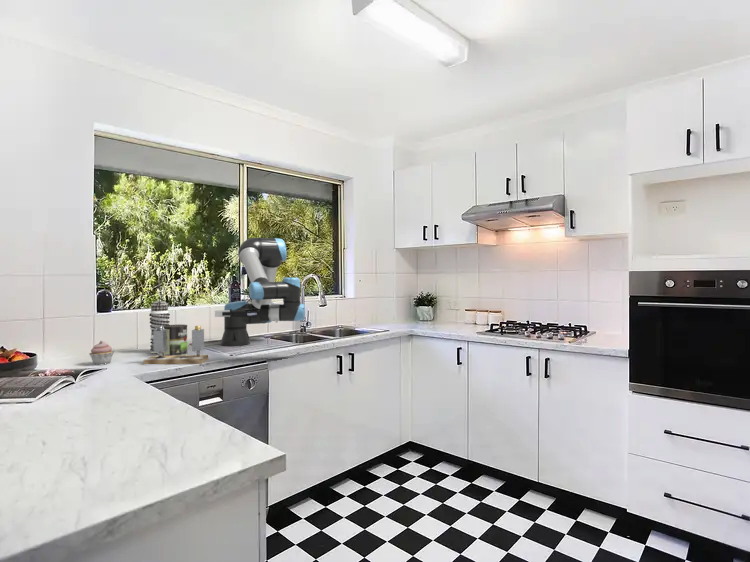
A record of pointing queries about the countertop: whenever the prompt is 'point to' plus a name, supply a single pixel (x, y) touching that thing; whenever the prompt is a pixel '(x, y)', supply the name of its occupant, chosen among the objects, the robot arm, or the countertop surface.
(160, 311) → the decorative candle
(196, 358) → the board
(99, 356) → the cupcake
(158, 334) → the fixed leg
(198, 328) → the block
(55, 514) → the countertop surface
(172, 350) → the coffee can
